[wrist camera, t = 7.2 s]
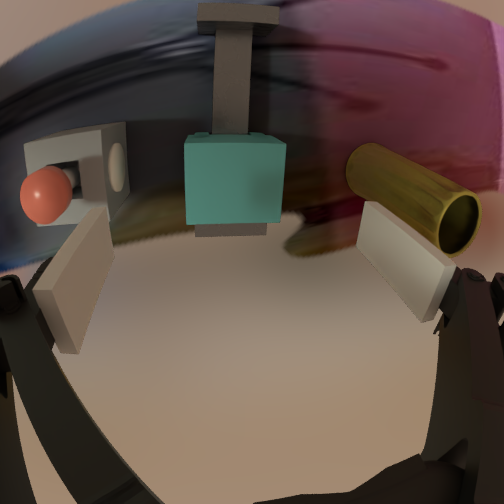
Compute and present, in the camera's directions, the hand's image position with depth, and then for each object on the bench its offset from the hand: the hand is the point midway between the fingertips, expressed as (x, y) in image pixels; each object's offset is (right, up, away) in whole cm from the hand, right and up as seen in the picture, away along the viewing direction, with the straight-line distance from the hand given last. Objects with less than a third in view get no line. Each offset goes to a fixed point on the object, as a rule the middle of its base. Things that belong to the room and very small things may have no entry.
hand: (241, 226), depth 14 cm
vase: (+13, +8, +15) cm, 21 cm away
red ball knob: (-14, +5, +5) cm, 15 cm away
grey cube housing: (-15, +7, +10) cm, 19 cm away
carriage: (-2, +7, +13) cm, 15 cm away
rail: (-2, +11, +10) cm, 15 cm away
